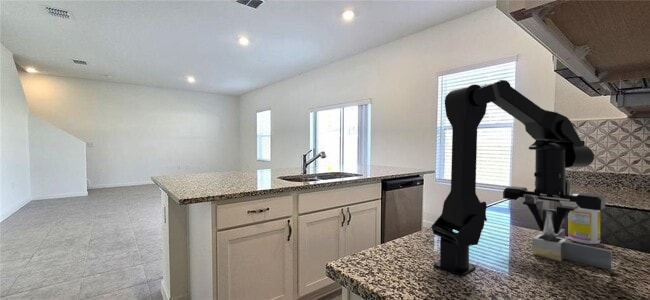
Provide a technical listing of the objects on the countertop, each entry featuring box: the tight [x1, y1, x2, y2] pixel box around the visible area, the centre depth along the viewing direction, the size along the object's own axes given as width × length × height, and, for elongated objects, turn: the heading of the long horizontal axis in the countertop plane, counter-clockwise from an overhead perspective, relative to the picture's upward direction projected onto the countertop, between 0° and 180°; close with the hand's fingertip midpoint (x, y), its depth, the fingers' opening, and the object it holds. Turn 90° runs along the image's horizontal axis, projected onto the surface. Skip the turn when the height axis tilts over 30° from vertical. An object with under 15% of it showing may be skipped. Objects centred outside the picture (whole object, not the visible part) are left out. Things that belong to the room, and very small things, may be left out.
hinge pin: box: [542, 208, 557, 242], centre depth 69 cm, size 3×3×8 cm
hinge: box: [532, 228, 613, 271], centre depth 69 cm, size 15×13×4 cm
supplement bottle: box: [567, 193, 601, 245], centre depth 79 cm, size 7×7×13 cm
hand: (549, 232), depth 69 cm, fingers closed on hinge pin, 3 cm apart
